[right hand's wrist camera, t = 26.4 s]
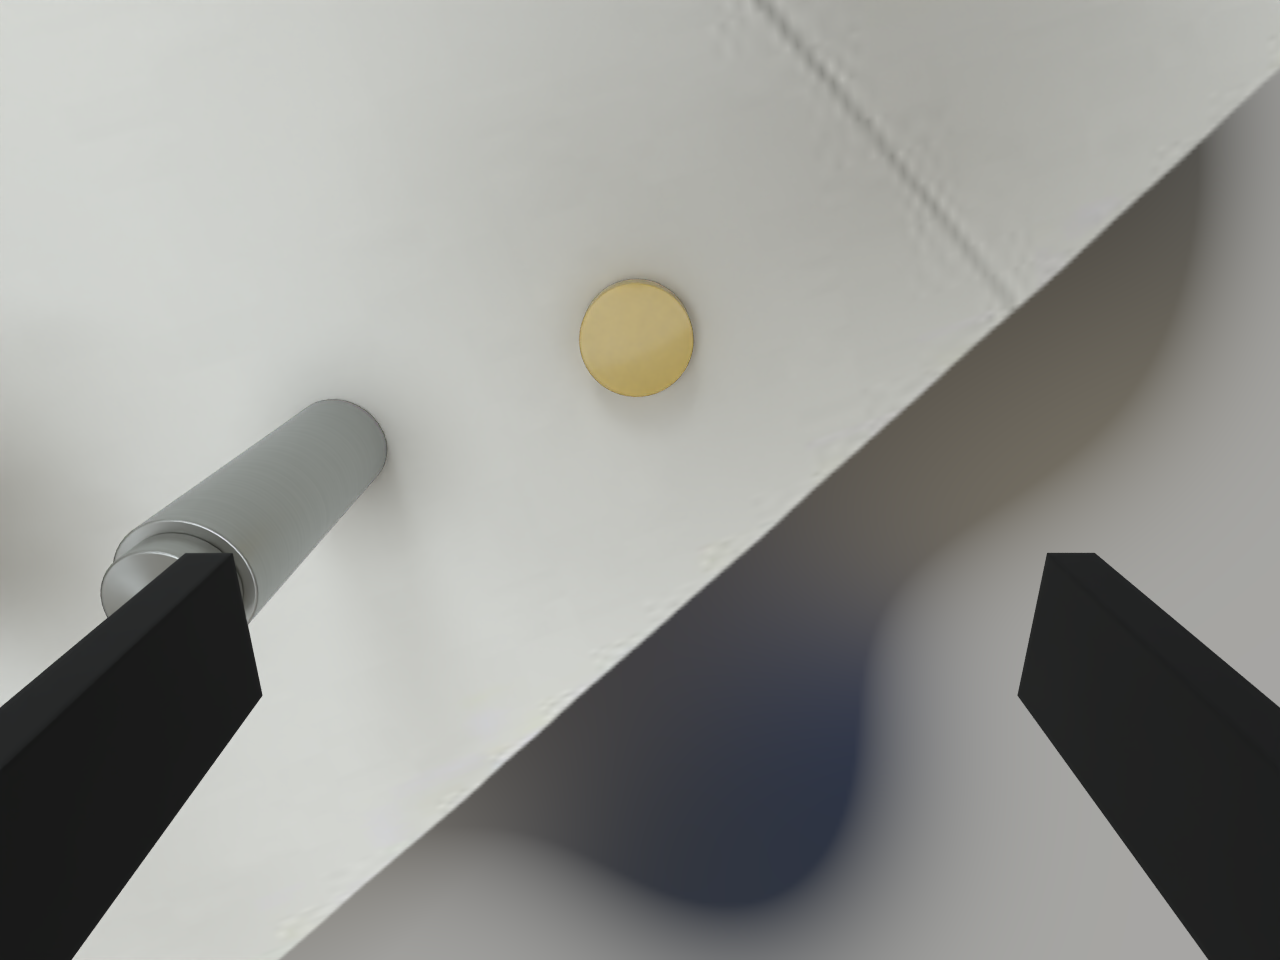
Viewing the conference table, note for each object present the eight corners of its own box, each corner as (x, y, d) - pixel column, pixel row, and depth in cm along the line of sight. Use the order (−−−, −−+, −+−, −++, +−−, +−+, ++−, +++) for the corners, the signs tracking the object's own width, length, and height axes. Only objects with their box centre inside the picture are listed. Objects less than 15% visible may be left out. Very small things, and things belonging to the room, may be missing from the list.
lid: (694, 280, 37) (697, 285, 36) (688, 390, 39) (689, 399, 37) (582, 276, 37) (579, 281, 36) (580, 386, 39) (578, 394, 37)
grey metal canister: (305, 492, 41) (114, 674, 26) (280, 404, 39) (61, 544, 24) (396, 484, 41) (255, 662, 26) (375, 394, 39) (212, 530, 24)
